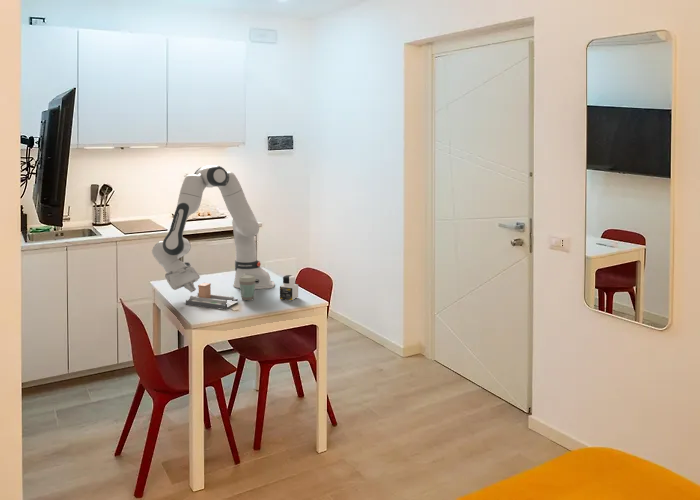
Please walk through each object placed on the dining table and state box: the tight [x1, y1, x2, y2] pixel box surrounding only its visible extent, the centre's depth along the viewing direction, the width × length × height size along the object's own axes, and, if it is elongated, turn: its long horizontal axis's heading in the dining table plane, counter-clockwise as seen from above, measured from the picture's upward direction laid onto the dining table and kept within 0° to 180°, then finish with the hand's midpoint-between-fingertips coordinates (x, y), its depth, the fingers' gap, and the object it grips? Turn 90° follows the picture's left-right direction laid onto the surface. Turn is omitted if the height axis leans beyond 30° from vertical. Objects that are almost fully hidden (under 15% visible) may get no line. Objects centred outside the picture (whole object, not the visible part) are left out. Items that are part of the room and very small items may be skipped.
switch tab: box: [197, 282, 212, 298], centre depth 308 cm, size 4×5×7 cm
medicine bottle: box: [279, 274, 299, 301], centre depth 318 cm, size 7×7×12 cm
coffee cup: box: [239, 275, 256, 301], centre depth 315 cm, size 8×8×12 cm
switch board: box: [185, 292, 239, 310], centre depth 308 cm, size 22×12×4 cm, turn 70°
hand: (193, 290), depth 310 cm, fingers closed
